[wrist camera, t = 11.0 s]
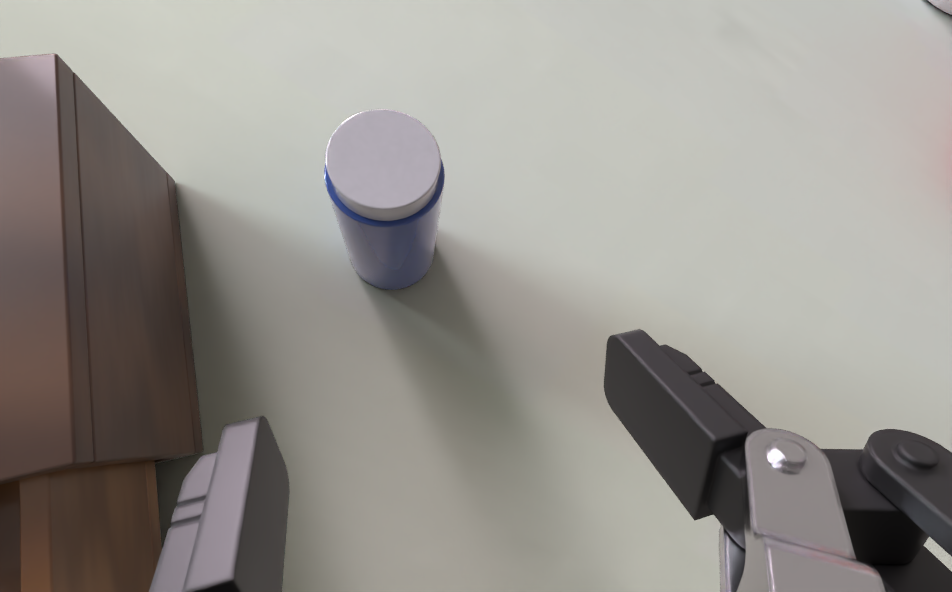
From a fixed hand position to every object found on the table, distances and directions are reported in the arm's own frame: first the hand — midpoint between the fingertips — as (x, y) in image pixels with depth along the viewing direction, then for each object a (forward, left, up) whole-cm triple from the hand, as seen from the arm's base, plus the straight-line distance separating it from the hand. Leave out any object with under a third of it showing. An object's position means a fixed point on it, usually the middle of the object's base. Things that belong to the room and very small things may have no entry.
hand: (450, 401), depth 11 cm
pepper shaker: (-3, +8, -13) cm, 16 cm away
